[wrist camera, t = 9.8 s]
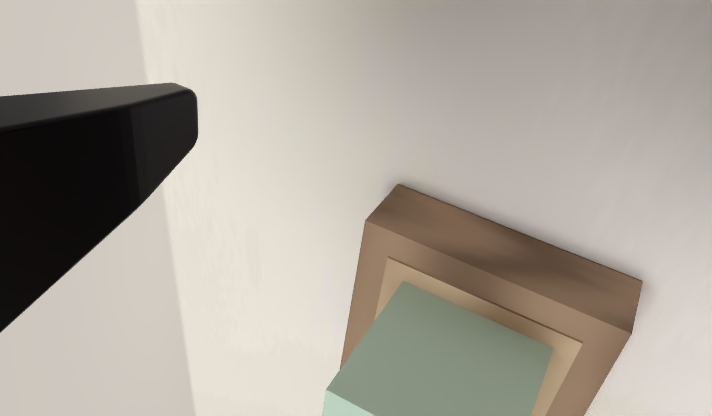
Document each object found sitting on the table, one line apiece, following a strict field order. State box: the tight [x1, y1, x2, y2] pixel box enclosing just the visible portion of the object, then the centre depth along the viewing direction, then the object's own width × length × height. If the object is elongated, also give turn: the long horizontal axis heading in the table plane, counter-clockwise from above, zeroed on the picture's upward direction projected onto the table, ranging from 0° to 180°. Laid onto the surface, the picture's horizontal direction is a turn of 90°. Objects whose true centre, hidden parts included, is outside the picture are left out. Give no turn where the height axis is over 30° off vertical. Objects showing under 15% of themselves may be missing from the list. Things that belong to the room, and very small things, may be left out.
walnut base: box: [340, 185, 642, 416], centre depth 26 cm, size 10×10×3 cm
